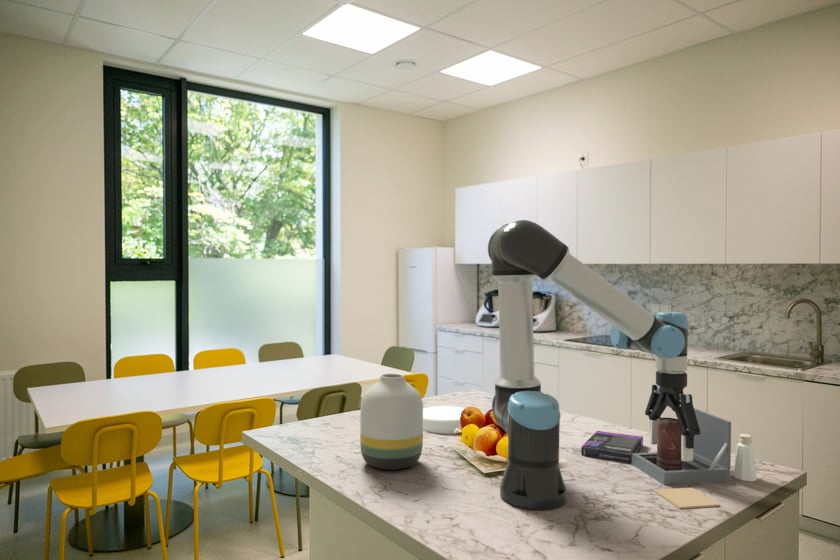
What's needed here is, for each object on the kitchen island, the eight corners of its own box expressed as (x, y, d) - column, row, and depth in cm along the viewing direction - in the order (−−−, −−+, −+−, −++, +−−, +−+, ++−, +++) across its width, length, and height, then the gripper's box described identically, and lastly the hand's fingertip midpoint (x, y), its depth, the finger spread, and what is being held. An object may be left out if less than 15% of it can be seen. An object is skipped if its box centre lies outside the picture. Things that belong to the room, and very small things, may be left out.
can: (686, 478, 144) (686, 423, 143) (659, 476, 145) (660, 421, 145) (680, 469, 149) (680, 417, 149) (654, 468, 151) (655, 416, 151)
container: (446, 415, 206) (446, 402, 206) (488, 426, 191) (488, 413, 191) (405, 425, 192) (405, 411, 192) (446, 438, 177) (446, 423, 177)
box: (596, 441, 178) (580, 457, 161) (596, 430, 178) (580, 444, 161) (643, 448, 171) (631, 465, 154) (643, 436, 171) (631, 452, 154)
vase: (435, 463, 153) (436, 375, 152) (390, 480, 140) (391, 384, 140) (392, 449, 164) (392, 368, 164) (347, 463, 152) (347, 375, 152)
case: (664, 484, 139) (665, 424, 139) (631, 464, 153) (632, 409, 153) (730, 481, 142) (731, 421, 141) (692, 461, 156) (692, 407, 156)
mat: (679, 508, 125) (679, 507, 125) (653, 491, 134) (653, 489, 134) (720, 506, 126) (720, 504, 126) (691, 489, 136) (691, 487, 136)
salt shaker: (736, 472, 148) (737, 430, 148) (760, 477, 144) (760, 435, 144) (730, 477, 144) (730, 434, 144) (753, 483, 140) (754, 439, 140)
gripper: (716, 379, 135) (716, 467, 135) (656, 363, 160) (656, 437, 160) (688, 380, 134) (687, 469, 134) (632, 363, 159) (631, 438, 159)
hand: (670, 452), depth 147 cm, fingers open, 13 cm apart
